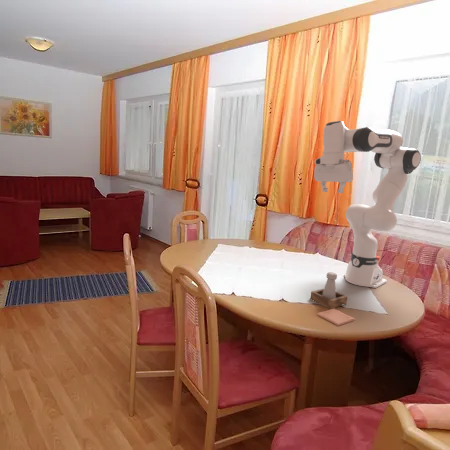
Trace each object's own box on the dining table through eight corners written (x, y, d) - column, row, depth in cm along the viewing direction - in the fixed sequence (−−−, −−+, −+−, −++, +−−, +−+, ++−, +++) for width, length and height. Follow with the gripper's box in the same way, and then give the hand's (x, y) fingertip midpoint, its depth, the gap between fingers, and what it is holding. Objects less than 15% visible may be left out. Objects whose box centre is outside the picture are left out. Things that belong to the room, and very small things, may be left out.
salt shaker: (324, 297, 165) (328, 269, 163) (337, 302, 162) (341, 273, 159) (318, 301, 161) (322, 272, 158) (331, 305, 157) (335, 276, 155)
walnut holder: (326, 295, 169) (327, 287, 168) (346, 304, 160) (347, 296, 160) (310, 299, 162) (311, 291, 162) (329, 308, 154) (331, 300, 153)
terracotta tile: (333, 310, 153) (333, 308, 153) (354, 320, 145) (354, 318, 145) (317, 315, 147) (317, 313, 147) (338, 325, 139) (338, 323, 139)
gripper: (357, 159, 152) (356, 193, 154) (322, 160, 170) (322, 190, 173) (345, 159, 150) (344, 194, 152) (312, 160, 168) (311, 191, 170)
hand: (332, 192), depth 162 cm, fingers open, 8 cm apart
